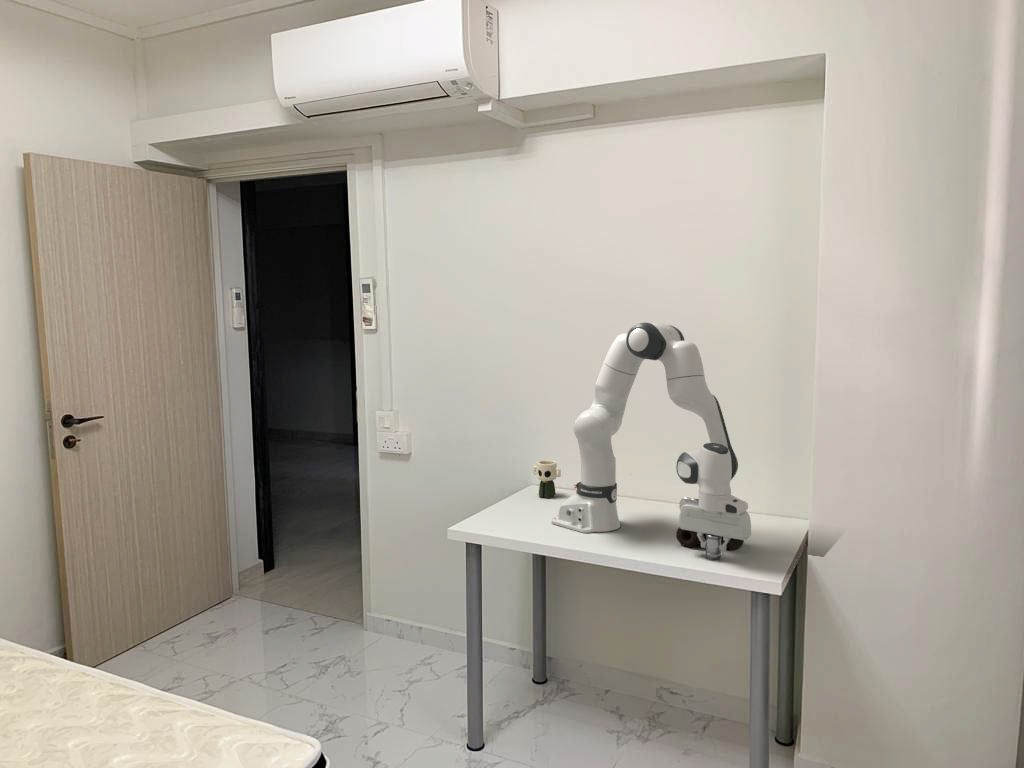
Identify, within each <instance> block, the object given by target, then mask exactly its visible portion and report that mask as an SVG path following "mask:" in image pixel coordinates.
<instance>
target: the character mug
mask: <svg viewBox="0 0 1024 768" xmlns="http://www.w3.org/2000/svg"><path fill="white" fill-rule="evenodd" d="M561 472H562V471H561V468H560V467H557V461H555V460H548V459H547V460H539V461H537V465H533V475H537V479H538V480H540V482H539V487H538V496H539V497H541V498H543V497H544V498H553V497H554V496H556V486H555V482H554V481H555V480H556V479H557V478H561V476H562V475H561V474H562V473H561Z"/></svg>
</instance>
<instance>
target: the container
mask: <svg viewBox="0 0 1024 768" xmlns="http://www.w3.org/2000/svg"><path fill="white" fill-rule="evenodd" d="M719 545H721V536H717V535H711V534H706V548H705V559H706V560H708V561H713V562H715V561H716V562H717V561H720V560H722V559H721V557H722V551H719V549H720V548H719Z"/></svg>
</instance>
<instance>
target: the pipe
mask: <svg viewBox="0 0 1024 768" xmlns="http://www.w3.org/2000/svg"><path fill="white" fill-rule="evenodd" d="M675 536H676V540H677V541H678V543H680V544H681V545H682V546H684V547H687V548H688V547H689V548H691V547H696V546H698V545H701V542H700V540H699V538H698V536H697V532H695V531H689V530H684V529H681V528H680V527H679V526H678V528H677V530H676V535H675ZM703 536H704V539H705V541H706V533H704V535H703ZM724 542H725V540H723V537H722V536H721V544H723V543H724ZM744 542H745V540H739V539H733V538H731V539H730V541H729V542H728V544H727V545H726V549H730V550H733V551H735V550H738V549H740V548H741V547H742V546H743V544H744Z"/></svg>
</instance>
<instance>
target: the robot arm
mask: <svg viewBox="0 0 1024 768" xmlns="http://www.w3.org/2000/svg"><path fill="white" fill-rule="evenodd" d="M644 360H650V361H659V362H661V363H662V365H663V367H664V370H665V379H666V388H667V392H668V393H667V394H668V396H669V399H670V400H671V401H672V403H674V404H675V405H676V406H677V407H679V408H681V409H683V410H685V411H688V412H691V413H694V414H695V415H697V416H699V417H701V419H702V421H703V422H704V424H705V428H706V431H707V434H708V439H709V442H708V443H707V442H706V443H703V444H702V445H701V447H699V448H696V449H693V450H689V451H684V452H682V453H681V454H679V456H678V458H677V461H676V465H675V468H676V474H677V476H678V478H679V479H680V480H681V481H682V482H683V483H684V484H690V485H698V498H694V497H693V498H690V497H684V498H681V499H680V500H679V506H678V508H679V516H678V528H679V527H680V528H681V529H684V530H689V531H695V532H697V536H698V538H699V540H700V542H701V543H700V548H702V549H706V541H705V539H704V536H703V535H704V533H706V534H711V535H717V536H722V537H723V540H725V542H724V543H723V544H721V545H719V548H720V549H719V551H721V553H725V552H727V547H726V545H727V544H728V542H729V541H730V539H731V538H733V539H739V540H744V541H746V540H748V539H749V538H750V537H751V535H752V521H751V516H750V514H749V512H748V511H747V510H748V508H749V504H748V502H746V501H744V500H742V499H740V498H738V497H736V496H734V495H732V489H731V481H732V480H733V478H735V476H736V473H737V472H738V469H739V461H738V457H737V455H736V454H735V451H734V449H733V447H732V444H731V439H730V436H729V433H728V429H727V425H726V422H725V419H724V418H725V417H724V415H723V411H722V408H721V405H720V403H719V400H718V398H717V397H716V396H715V395H713V394H712V393H711V391H710V389H709V387H708V384H707V382H706V377H705V371H704V365H703V361H702V357H701V354H700V351H699V348H698V346H697V345H696V344H695V343H694V342H693V341H689V340H685V337H684V335H683V333H682V332H681V330H680V329H679V328H677V327H676V326H673V325H671V324H670V325H669V324H664V323H662V322H661V323H660V322H641V323H637V324H635V325H632V327H631V328H630V329H629V331H628V332H627V333H620V334H619V335H617V336H616V338H614V340H613V342H612V344H611V346H610V347H609V349H608V350H607V353H606V355H605V358H604V360H603V362H602V365H601V367H600V370H599V373H598V376H597V379H596V381H595V383H594V392H593V393H594V394H593V399H592V403H591V405H590V407H589V408H588V409H586V410H584V411H582V412H581V413H580V414H579V415H578V416H577V418H576V419H575V422H574V425H573V433H574V436H575V438H576V439H577V443H578V448H579V454H580V481H579V482H577V483H576V484H574V485H573V486H574V487H573V489H576V491H575V493H573V494H572V495H571V496H569V497H568V498H566V499H565V500H564V501H562V502H561V504H560V506H559V510H558V515H555V516H554V517H552V519H551V524H552V525H556V526H560V527H563V528H566V529H569V530H573V531H577V532H581V533H584V534H588V533H595V532H596V533H598V532H599V533H600V532H611V531H616V530H618V529H619V528H620V527H621V522H620V520H619V513H618V507H617V506H618V505H617V500H618V484H617V483H618V482H616V481H617V479H616V478H617V477H616V476H617V474H616V473H617V472H616V470H617V469H616V467H617V463H616V461H617V459H616V457H615V455H614V449H613V446H612V436H614V435H615V434H617V432H618V431H619V430H620V427H621V426H622V422H623V418H624V415H625V410H626V406H627V401H628V398H629V395H630V392H631V390H632V387H633V385H634V383H635V380H636V377H637V375H638V373H639V369H640V367H641V364H642V363H643V361H644Z"/></svg>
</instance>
